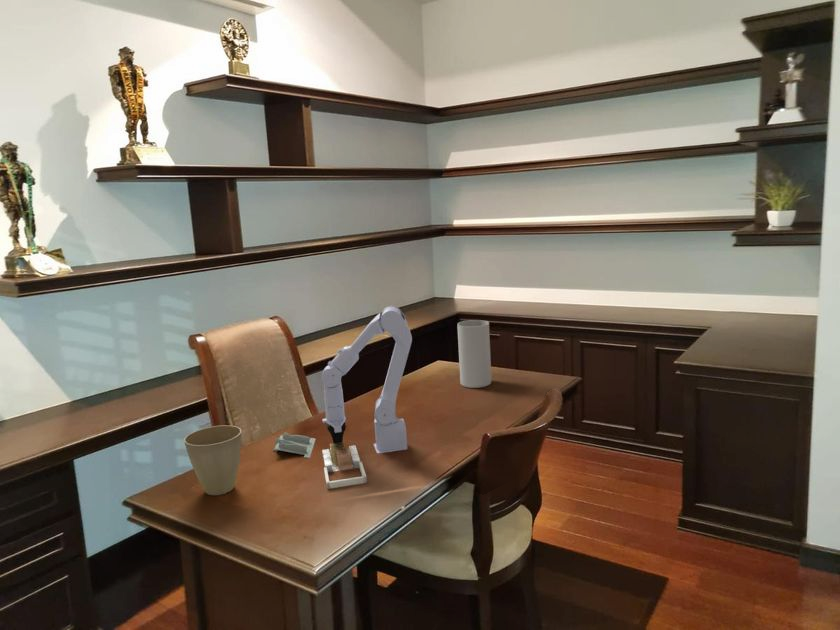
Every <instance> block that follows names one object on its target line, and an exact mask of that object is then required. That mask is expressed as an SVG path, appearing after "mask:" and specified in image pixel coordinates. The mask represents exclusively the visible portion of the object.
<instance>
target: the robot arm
mask: <svg viewBox="0 0 840 630" xmlns="http://www.w3.org/2000/svg"><path fill="white" fill-rule="evenodd" d="M409 327H410V326H409V325H408V322H407V319H406V316H405V314H404V312H402V310H401V309H400V308H399V307H398V306H397V305H396V306H395V305H388V306H386V307H384V308H383V309H382V311H381V312H379V313H378V314H377V315H376V316H375V317H374V318H373V319H372V320H371V321H370V322H369V323H368V324H367V326H366V327H365V328H364V329H363V330H362V331H361V333H360V334H359V335H358V336H357V338H356V339H355V340H354V342H353V343H352V344H350V345H347V346H343V348H342V347H340V348H339V349H338V350H337V354H336V356H335V357H334V358H333V359H332V360H329V361H328V362H327V365H326V366H325V367H324V369H323V371H322V373H321V375H320V379H321V380H320V381H321V383H322V385H323V400H324V401H323V402H324V410H325V418H322V419H321V420H322V423H323V424H325V423H326V429H327V431H328V432H329V433H330V436H331V439H332V444H334V443H341V442H343V439H344V434H345V430H346V428H347V425H346V420H347V417H346V414H345V404H344V393H343V391H344V390H343V387H342V377H343V376H345V375H347V373H348V372H349V371H350V370H351V368H352V367H353V366H354V365H355V364H356V363H357V362H358V361H359V359H360V356H359V355H360V352H361V351H362V350H363V349H364V348H365V347H366V346H367V345H368V344H369V342H371V340H373V338H374V337H375V336H376V335H377V336H378V335H383V334H385V332H387V333H388V334H390V335H391V337H392V338H393V339H394V342H395V343H394V347H393V350H392V355H391V359H390V362H389V367H388V369H387V372H386V373H387V374H386V377H385V381H384V384H383V388H382V391H381V394H380V396H379V397H377V399H376V401H375V404H374V405H375V410H374V420H373V423H374V433H375V434H374V436H375V443H373V446H374V449H375V451H376V454H383V453H391V452H396V451H403V450H408V439H407V438H408V437H407V426H406V423H405V420H404V418H398V417H397V415H396V402H397V397H398V392H399V388H400V385H401V383H402V382H401V381H402V378H403V374H404V371H405V368H406V364H407V360H408V357H409V353H410V350H411V346H412V342H413V337H412V333H411V330H410V328H409ZM343 443H344V442H343Z"/></svg>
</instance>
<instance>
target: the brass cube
mask: <svg viewBox="0 0 840 630" xmlns="http://www.w3.org/2000/svg"><path fill="white" fill-rule="evenodd" d="M341 449H345V444H344V442H341V443H329V452H330V455H331V460H332V462H334V461H337V457H336V450H341Z"/></svg>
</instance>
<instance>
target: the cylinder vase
mask: <svg viewBox="0 0 840 630" xmlns="http://www.w3.org/2000/svg"><path fill="white" fill-rule="evenodd" d="M456 328H457V341H458V342H457V344H458V363H459V380H460V381H459V383H460V385H461V386H463V387H464V388H468V389H469V388H470V389H480V388H485V387H487V386H490V385H491V384H492V363H491V359H492V358H491V342H490V340H491V339H490V321H488V320H481V319H469V320H463V321H459V322H458V323H457V327H456Z"/></svg>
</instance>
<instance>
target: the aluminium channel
mask: <svg viewBox="0 0 840 630" xmlns="http://www.w3.org/2000/svg"><path fill="white" fill-rule="evenodd" d="M348 448H350V451H351V458H352V467H346V468H339V469H338V465H337V461H334V462H332V460H331V453H330V448H327V449H322V451H321V452H322V459H323V464H324V467H327V472H328V473H332V472H333V473H334V472H341V471H346V470H347V471H348V470H353V469H360V468H359V462H361V458H360V455H359V453H358V450H357V447H356V445H354V444H353V445H348Z"/></svg>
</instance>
